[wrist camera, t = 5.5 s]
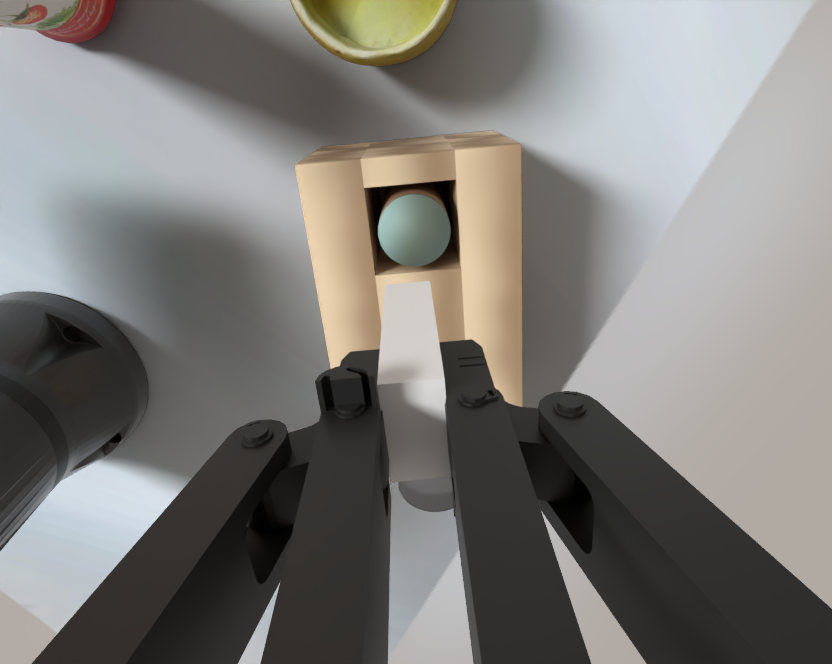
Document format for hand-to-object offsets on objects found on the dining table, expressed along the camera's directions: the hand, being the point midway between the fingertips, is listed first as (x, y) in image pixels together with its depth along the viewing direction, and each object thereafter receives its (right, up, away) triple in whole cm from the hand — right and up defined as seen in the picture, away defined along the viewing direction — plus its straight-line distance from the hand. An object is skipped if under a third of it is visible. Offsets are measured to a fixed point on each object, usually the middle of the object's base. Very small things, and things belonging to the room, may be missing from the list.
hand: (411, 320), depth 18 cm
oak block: (0, +4, +23) cm, 24 cm away
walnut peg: (0, +9, +20) cm, 22 cm away
